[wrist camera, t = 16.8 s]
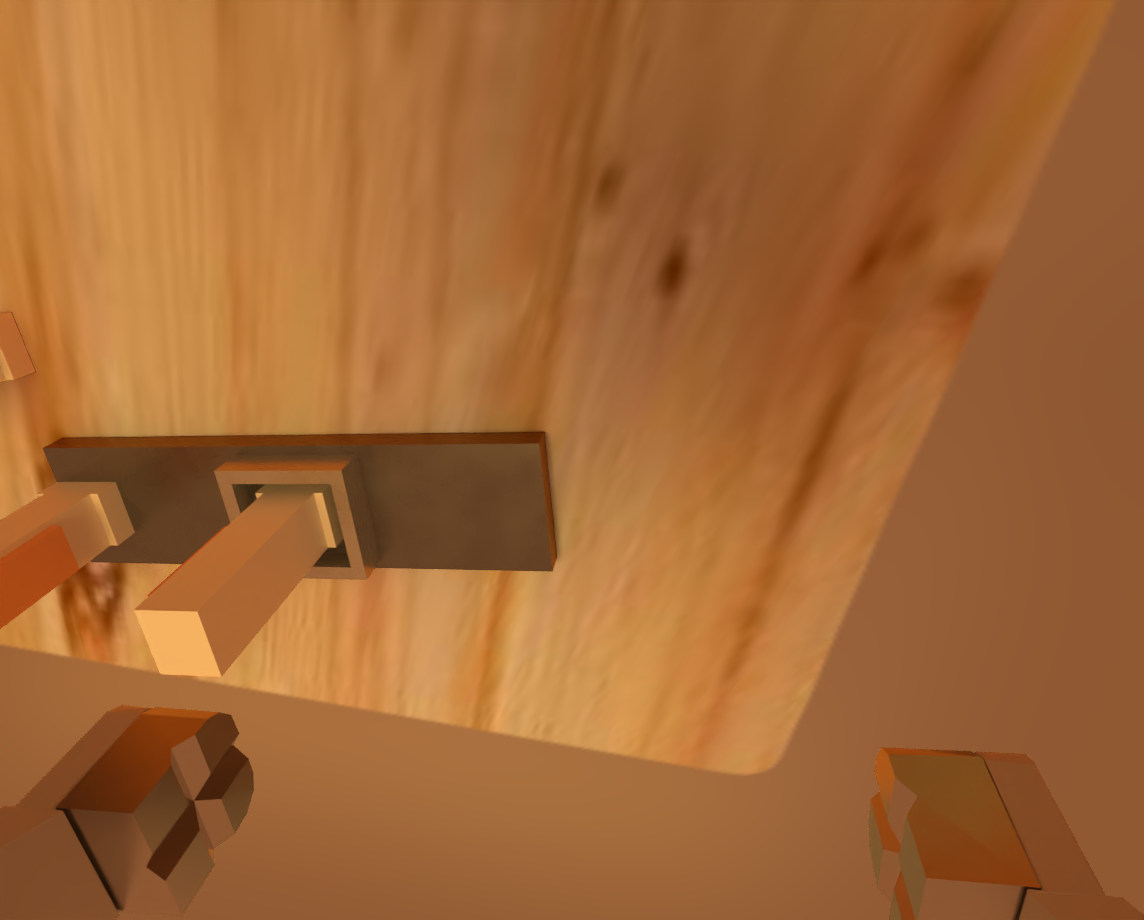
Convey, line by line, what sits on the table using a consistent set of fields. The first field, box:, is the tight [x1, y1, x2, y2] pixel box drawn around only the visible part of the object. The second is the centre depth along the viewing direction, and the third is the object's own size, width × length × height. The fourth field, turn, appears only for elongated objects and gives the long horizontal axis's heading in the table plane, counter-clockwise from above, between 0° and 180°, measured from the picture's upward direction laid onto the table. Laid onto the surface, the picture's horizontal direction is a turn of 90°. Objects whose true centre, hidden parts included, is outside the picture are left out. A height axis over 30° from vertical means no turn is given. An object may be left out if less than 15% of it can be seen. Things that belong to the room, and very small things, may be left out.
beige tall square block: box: [134, 484, 344, 677], centre depth 37 cm, size 4×4×12 cm
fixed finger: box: [0, 482, 135, 629], centre depth 39 cm, size 4×4×12 cm
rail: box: [43, 432, 557, 580], centre depth 42 cm, size 8×30×4 cm, turn 94°
